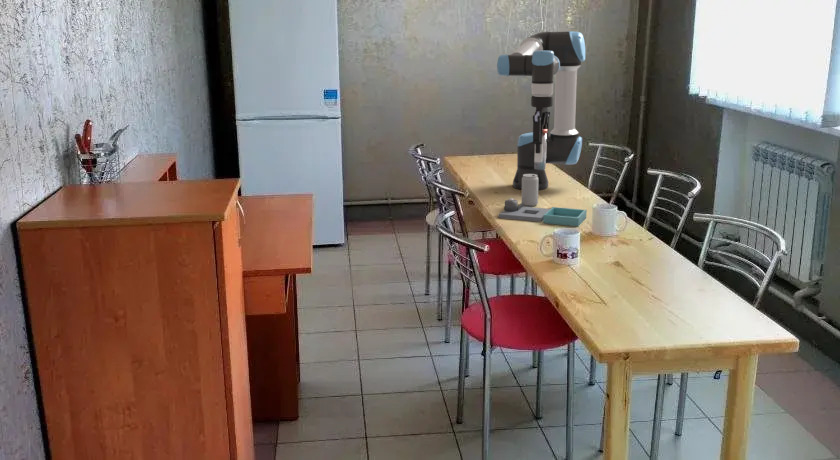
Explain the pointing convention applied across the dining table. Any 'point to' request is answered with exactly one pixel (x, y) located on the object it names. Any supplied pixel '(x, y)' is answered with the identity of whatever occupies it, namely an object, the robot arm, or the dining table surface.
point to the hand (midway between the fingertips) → (540, 160)
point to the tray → (565, 216)
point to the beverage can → (529, 190)
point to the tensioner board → (522, 212)
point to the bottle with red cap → (543, 164)
